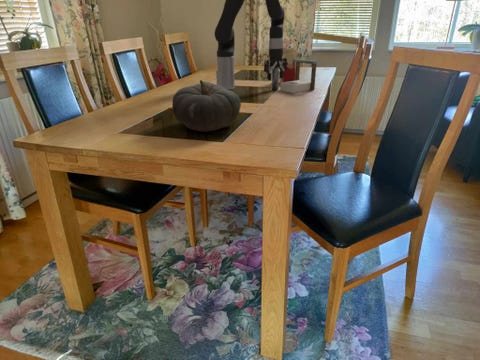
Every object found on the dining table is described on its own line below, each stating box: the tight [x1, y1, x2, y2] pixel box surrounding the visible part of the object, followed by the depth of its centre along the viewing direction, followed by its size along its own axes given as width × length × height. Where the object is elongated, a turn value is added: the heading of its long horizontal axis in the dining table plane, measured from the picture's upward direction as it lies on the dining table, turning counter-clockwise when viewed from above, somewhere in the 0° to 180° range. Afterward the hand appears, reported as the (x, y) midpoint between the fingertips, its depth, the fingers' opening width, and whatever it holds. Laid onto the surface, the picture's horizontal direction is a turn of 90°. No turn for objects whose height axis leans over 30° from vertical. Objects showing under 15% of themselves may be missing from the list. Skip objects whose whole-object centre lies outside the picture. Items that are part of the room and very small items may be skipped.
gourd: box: [171, 79, 242, 133], centre depth 124 cm, size 25×25×17 cm
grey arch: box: [293, 58, 318, 92], centre depth 183 cm, size 4×14×15 cm, turn 36°
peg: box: [271, 67, 279, 91], centre depth 183 cm, size 3×3×12 cm
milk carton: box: [279, 47, 296, 84], centre depth 199 cm, size 9×9×20 cm
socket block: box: [280, 79, 311, 94], centre depth 183 cm, size 13×10×4 cm
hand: (275, 79), depth 183 cm, fingers open, 8 cm apart
